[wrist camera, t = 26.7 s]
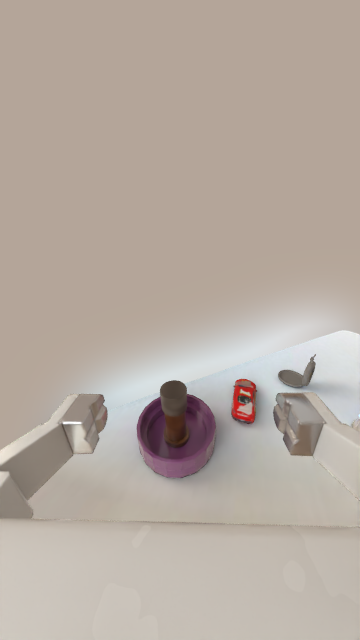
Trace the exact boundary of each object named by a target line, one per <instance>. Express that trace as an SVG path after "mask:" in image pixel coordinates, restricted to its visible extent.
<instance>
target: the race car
mask: <svg viewBox="0 0 360 640" xmlns="http://www.w3.org/2000/svg"><path fill="white" fill-rule="evenodd" d="M234 387H235V389H234V396H233V403H232V412H231V414H232V417H233V419H235V420H238V421H240V422H244V423H247V424H249V423H250V424H251V423H253V422H254V419H255V413H256V408H255V399H256V392H257V390H256V385H255V384H254V383H253V382H251V381H250V380H247V379H239V380H237V381H236V382H235V386H234Z"/></svg>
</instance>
